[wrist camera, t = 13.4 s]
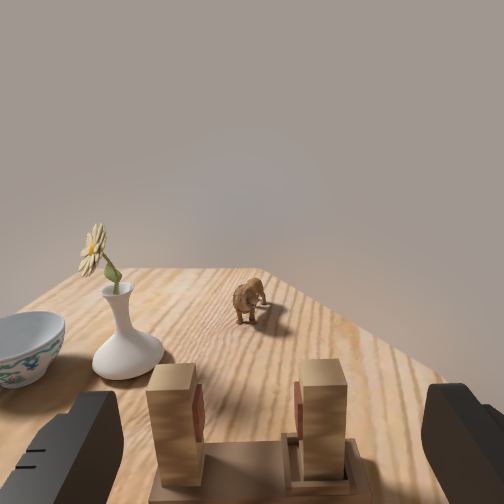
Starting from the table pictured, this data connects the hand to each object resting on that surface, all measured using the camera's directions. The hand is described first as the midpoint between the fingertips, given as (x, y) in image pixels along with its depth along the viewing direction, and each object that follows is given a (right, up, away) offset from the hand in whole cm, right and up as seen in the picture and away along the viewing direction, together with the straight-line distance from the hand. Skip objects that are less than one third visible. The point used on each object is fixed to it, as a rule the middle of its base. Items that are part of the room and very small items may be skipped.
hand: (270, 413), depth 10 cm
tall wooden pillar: (+7, -19, +31) cm, 37 cm away
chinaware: (-37, -16, +53) cm, 67 cm away
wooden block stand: (0, -21, +32) cm, 38 cm away
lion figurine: (0, -9, +68) cm, 68 cm away
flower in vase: (-20, -15, +53) cm, 59 cm away
